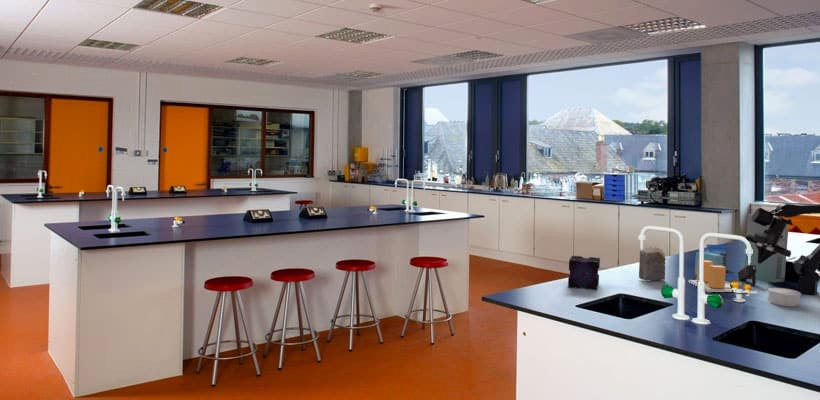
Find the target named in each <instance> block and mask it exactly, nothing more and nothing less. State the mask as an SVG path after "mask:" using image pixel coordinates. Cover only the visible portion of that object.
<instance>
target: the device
mask: <svg viewBox="0 0 820 400" xmlns="http://www.w3.org/2000/svg"><path fill="white" fill-rule="evenodd" d="M752 215H753V213H751V214H747V225H746V236H747V235H749V234H750V235H752V236H754V235H755V233H763V232H764V230H765V229H766V230H768V228H769V226H770V225H767V226H762V225H760V224H757V223H755V222H752V221H751V218H752ZM773 217H775V218H777V219H778V218H779V217H777V216H773ZM781 236H783V238H780V239H779V241H778V243H777V245H779V246H780V247H782V248H785V249H787V250H788V239H789V227H788V224H787V225H786V227H785V229H784V231H783V233H782V235H781ZM749 242H750V241H749ZM750 244H751V247H752V249H753V254H752V256H751V263H750V265H756V274H755V278H756V280H761V281H764V282H767V283H784V282H785V276H786V264H787V256H784V255H782V254H779V253H777V252H776V253H777V254H774V255H772V256H771V257H769V258H768V259H766V260H765V261H764V262H762V263H761V264H759V263H758V248H757V246H755V245H757V244H756V243H753V242H750ZM765 244H767V243H765ZM770 246H772V245H771V244H770ZM770 246H769V247H770ZM766 249H767V247H766ZM750 265H748V256H747V254H746V250H745V253H744V267H746V266H750ZM744 267H743V268H744Z"/></svg>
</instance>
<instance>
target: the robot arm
mask: <svg viewBox="0 0 820 400" xmlns="http://www.w3.org/2000/svg"><path fill="white" fill-rule="evenodd" d="M813 214H815V215H816V214H820V204H819V203H818V204H817V203H816V204H794V203H786V202H782V203H779V204H778V205H777V206H776V207H775V208H774V209H771V210H769V211H768V210H765V209H764V208H762V207H758V208H757V209H756V210H755V212H754V213H752V218H751V221H752V222H755V223H757V224H760V225H762V226H767V225H770V226H769V228H768V230H766V229H765V230H764V232H763V233H755V235H754V236H752V235H750V234H749V235H747V234H746V236H745V238H746V239H747V240H748V241H750V242H753V243H756V244H757V245H755V246H757V248H758V263H759V264H761V263H762V262H764V261H765V260H766V259H768V258H769V257H771V256H772V255H774V254H777V253H779V254H782V255H784V256H786V258H790V257H791V256H792V251H791V250H789V249H788V248H787V249H785V248H782V247H780V246H779V245H777V243H778V241H779V239H780V238H783V236H781V235H782V233H783V231H784V229H785V227H786V225H787V226H788V225H790V226H794V224H793V222H792V219H791V218H794V217H798V216H801V215H813ZM773 216H777V217H779V218H778V219H777V218H775V217H773ZM783 217H784V218H783ZM786 218H787V219H786ZM765 243H767V244H765ZM770 244H771V245H772V246H770ZM769 246H770V247H769ZM766 247H767V249H766ZM776 252H777V253H776ZM794 263H795V264H794V265H793V267H794V271H795V272H796V273H797V275H798V277H799V278H798V281H797V284H796V285H797V286H796V291H798V292H800V293H801V294H804V295H810V296H815V295H817V294H819V293H820V292H818V285H819V281H820V274H819V273H818V272H817V269H818V267H819V264H820V243H819V244H818V245H817V246H816V248H815V249H813V250H812V252H811V253H810V254H808V255H803V254H801V255H800V256H799V258H798V259H797V260H795V261H794Z"/></svg>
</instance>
